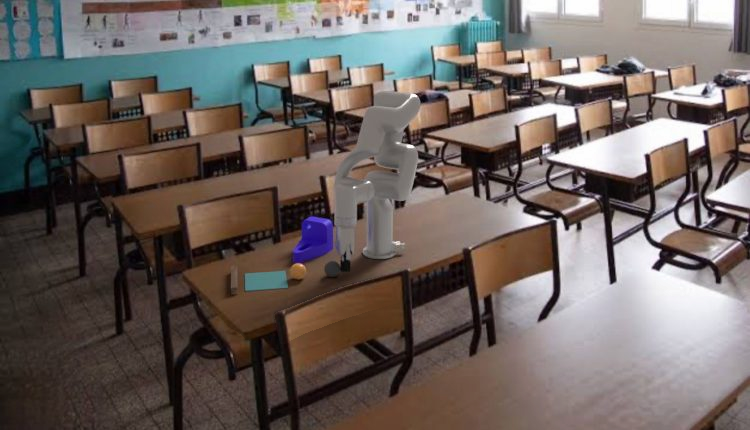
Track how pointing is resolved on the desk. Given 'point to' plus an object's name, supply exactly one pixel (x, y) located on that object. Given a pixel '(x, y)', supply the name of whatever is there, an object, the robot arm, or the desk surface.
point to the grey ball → (332, 269)
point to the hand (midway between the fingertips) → (345, 270)
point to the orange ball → (298, 271)
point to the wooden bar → (234, 280)
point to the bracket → (314, 239)
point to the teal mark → (265, 281)
